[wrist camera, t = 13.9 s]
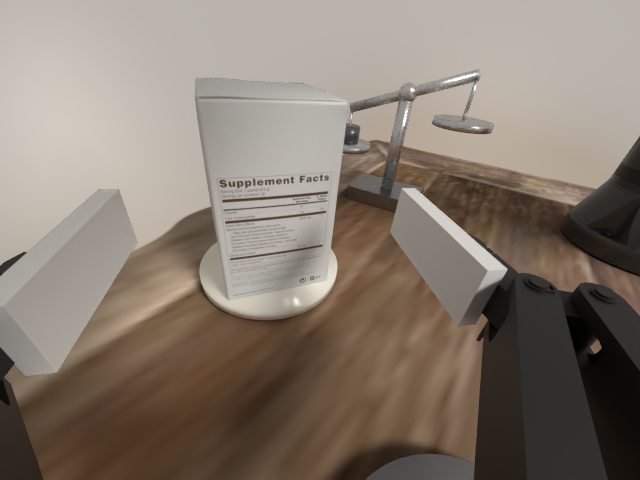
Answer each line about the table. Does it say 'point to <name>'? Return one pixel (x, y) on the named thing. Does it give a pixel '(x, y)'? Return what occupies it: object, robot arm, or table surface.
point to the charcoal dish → (425, 468)
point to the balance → (385, 188)
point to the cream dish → (267, 303)
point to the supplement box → (271, 179)
